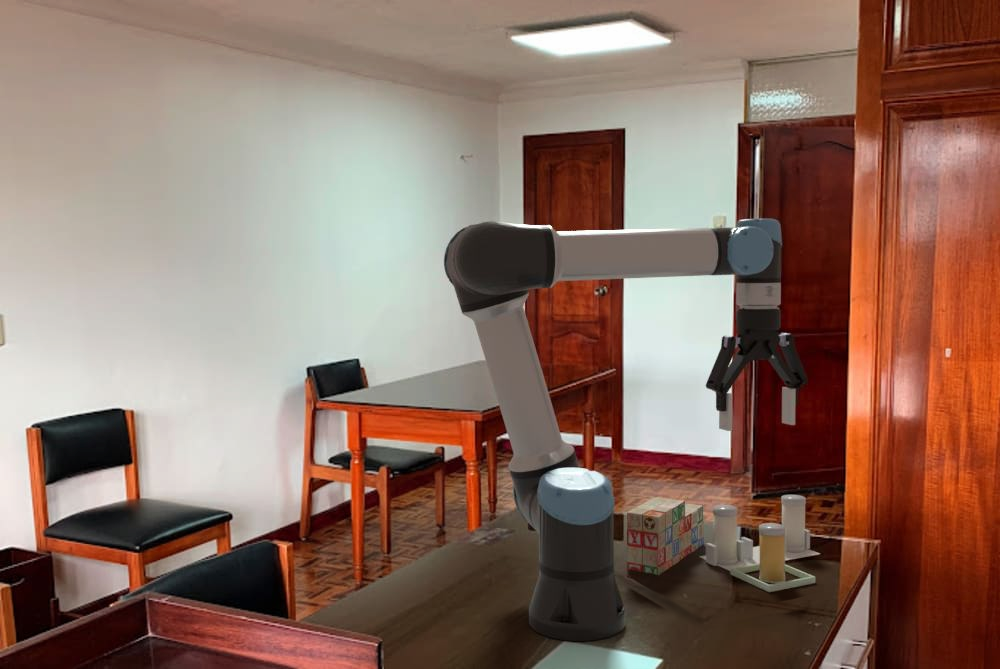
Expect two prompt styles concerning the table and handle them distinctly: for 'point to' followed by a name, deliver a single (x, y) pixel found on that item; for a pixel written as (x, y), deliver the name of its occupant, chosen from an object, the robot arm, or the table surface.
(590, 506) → the robot arm
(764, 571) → the fuse amber
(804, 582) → the tray
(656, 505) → the stack of blocks
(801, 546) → the fuse cream far
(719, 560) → the ball
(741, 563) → the fuse panel
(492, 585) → the table surface
